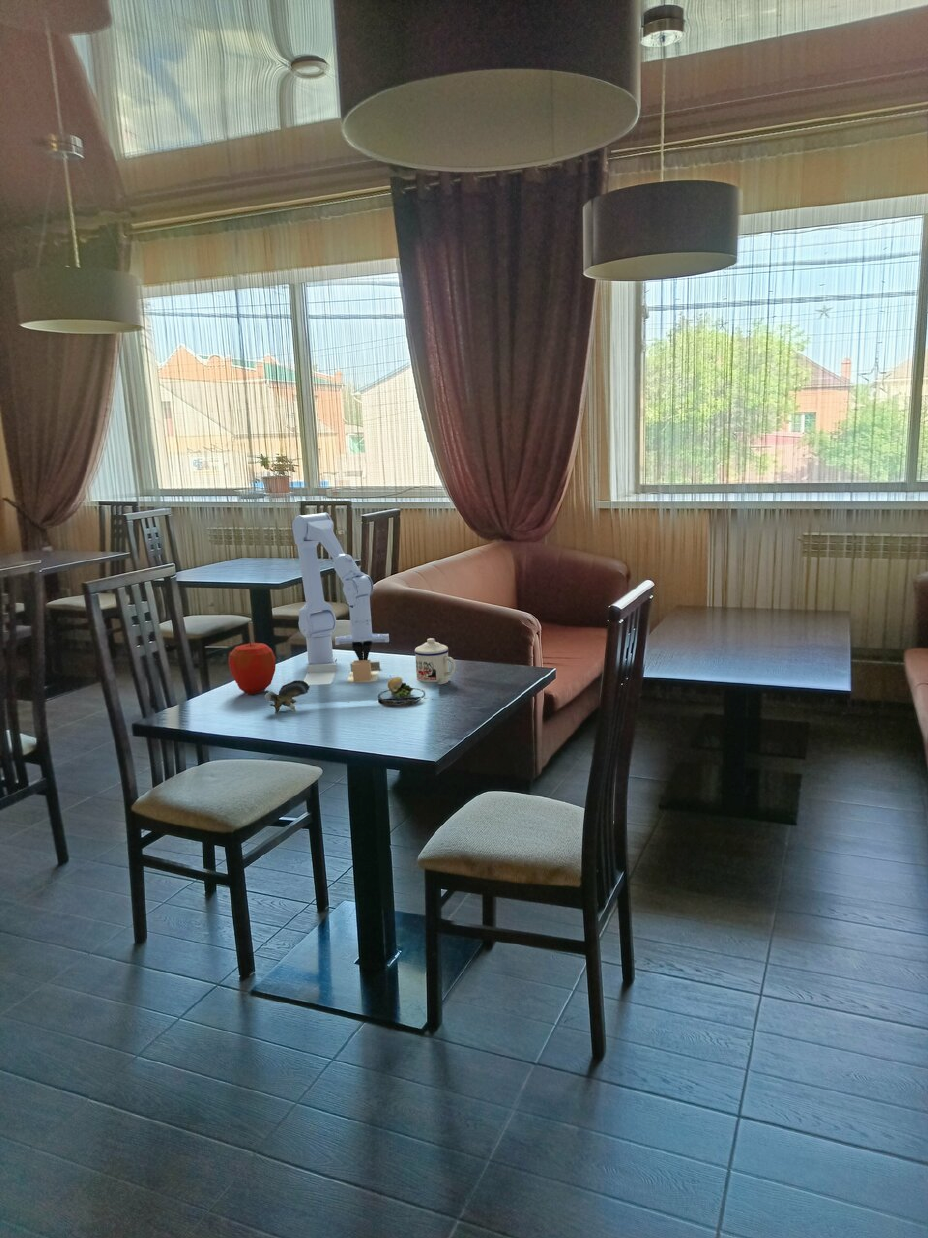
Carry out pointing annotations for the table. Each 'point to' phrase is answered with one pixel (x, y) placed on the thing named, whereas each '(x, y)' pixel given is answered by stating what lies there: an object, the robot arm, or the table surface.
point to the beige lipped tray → (374, 671)
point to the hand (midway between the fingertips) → (364, 668)
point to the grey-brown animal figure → (287, 694)
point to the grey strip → (320, 674)
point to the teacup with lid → (433, 662)
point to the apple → (252, 667)
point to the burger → (398, 694)
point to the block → (361, 670)
